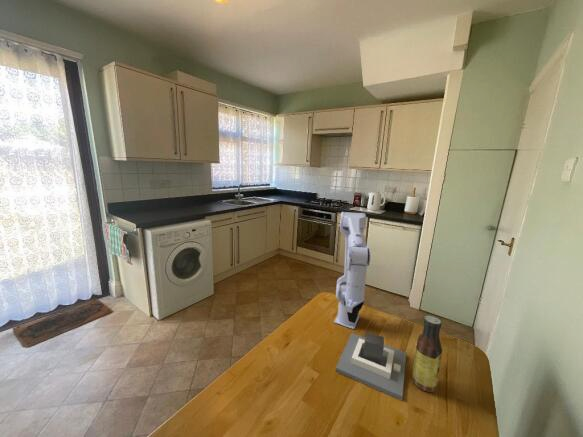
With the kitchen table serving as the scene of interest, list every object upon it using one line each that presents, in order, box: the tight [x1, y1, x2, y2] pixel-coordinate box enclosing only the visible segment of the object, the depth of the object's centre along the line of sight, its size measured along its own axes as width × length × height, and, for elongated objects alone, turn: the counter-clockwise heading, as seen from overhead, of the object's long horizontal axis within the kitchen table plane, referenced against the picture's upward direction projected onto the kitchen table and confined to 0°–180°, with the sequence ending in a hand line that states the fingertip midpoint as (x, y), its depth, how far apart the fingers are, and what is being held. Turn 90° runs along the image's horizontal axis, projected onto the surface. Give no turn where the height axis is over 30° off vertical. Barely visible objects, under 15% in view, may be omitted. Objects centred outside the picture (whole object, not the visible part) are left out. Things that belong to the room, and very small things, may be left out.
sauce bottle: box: [411, 315, 443, 393], centre depth 65 cm, size 7×6×20 cm
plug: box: [363, 331, 385, 364], centre depth 73 cm, size 4×5×7 cm
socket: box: [335, 332, 407, 401], centre depth 73 cm, size 18×18×3 cm
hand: (352, 321), depth 78 cm, fingers closed
